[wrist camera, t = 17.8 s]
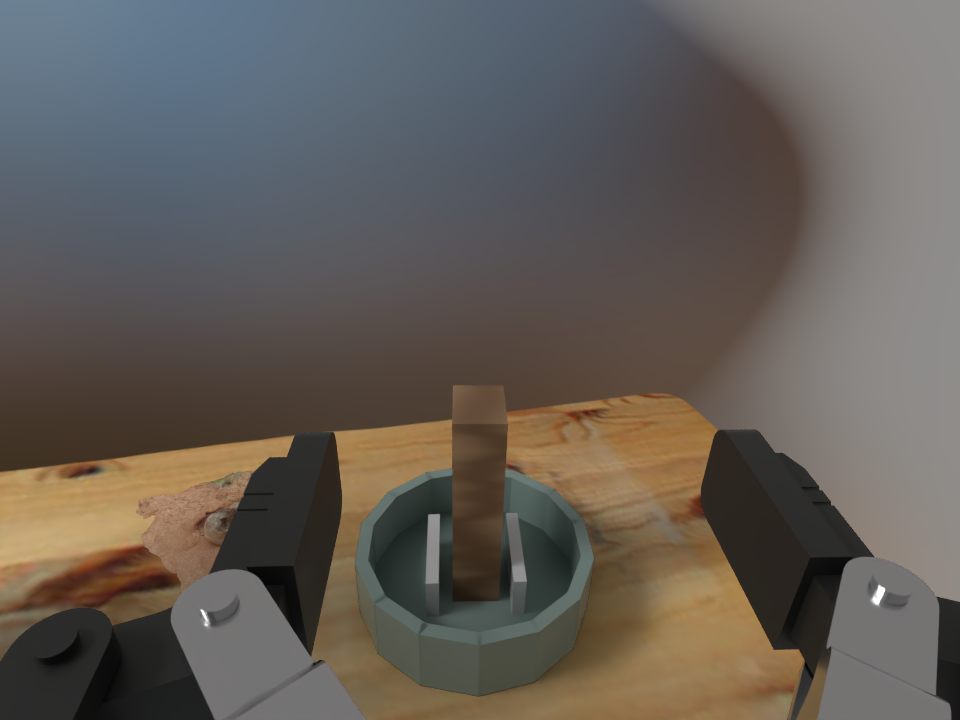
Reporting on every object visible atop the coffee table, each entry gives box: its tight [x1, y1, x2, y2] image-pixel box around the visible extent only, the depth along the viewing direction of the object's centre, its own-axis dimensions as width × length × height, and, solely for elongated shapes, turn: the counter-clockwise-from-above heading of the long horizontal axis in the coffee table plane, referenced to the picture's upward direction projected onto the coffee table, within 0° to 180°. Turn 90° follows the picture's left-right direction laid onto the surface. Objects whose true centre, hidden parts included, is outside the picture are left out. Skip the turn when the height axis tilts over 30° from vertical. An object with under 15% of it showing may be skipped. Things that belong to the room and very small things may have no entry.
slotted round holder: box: [355, 468, 594, 696], centre depth 41 cm, size 15×15×4 cm
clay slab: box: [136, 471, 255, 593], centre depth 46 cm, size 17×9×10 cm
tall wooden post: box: [452, 385, 508, 602], centre depth 38 cm, size 3×4×14 cm
